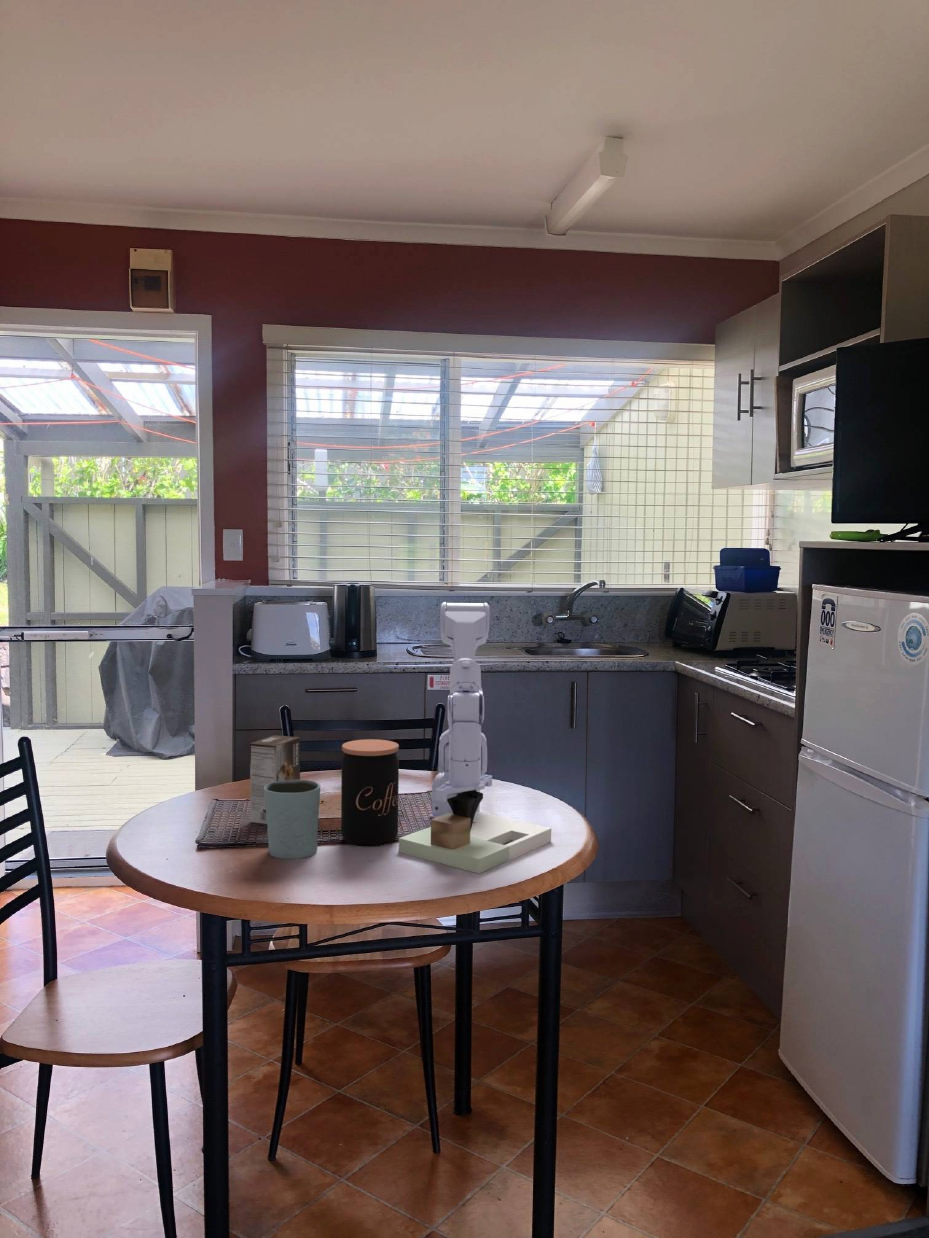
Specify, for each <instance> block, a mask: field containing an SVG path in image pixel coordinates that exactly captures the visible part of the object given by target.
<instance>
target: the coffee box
mask: <svg viewBox="0 0 929 1238" xmlns="http://www.w3.org/2000/svg"><path fill="white" fill-rule="evenodd" d="M300 741H301V737H300V736H288V735H287V736H286V735H276V734H275V735H271V736H268V737H265V738H264V737H263V739H259V740H257V741H253V742H251V743H249V758H250V759H249V770H250V772H249V773H250V774H249V776H250V777H249V780H250V781H249V782H250V783H249V787H250V789H249V790H250V793H249V794H250V805H249V806H250V822H251V823H256V824H263V825H267V819H266V805H265V798H264V786H265V785H267V784H269V783H273V782H277V781H283V780H301V742H300Z"/></svg>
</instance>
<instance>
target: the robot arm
mask: <svg viewBox="0 0 929 1238" xmlns="http://www.w3.org/2000/svg"><path fill="white" fill-rule="evenodd" d="M490 609H491V608H490V605H489V604H488V602H483V603H481V602H480V603H478V602H477V603H476V602H475V603H474V602H470V603H469V602H446V601H443V602H442V603H441V604H440V616H439V617H440V622H439V623H440V624H439V625H440V626H439V628H440V629H439V630H440V638H441V639H442V640H441V641H442V643H443V644H445V645H448V646H450V648H451V652H452V655H453V663H452V665H450V668H449V694H448V696H447V722H448V723H447V724H448V728H447V730H445V731H444V732H443V733H441V735H440V737H439V745H438V772H439V773H438V774H436V776H434V780H433V783H432V787H431V790H432V792H431V814H429V816H428V817H429V818H431V819H433V818H436V817H439V816H442V815H445V814H448V813H450V814H454V815H458V816H463V817H467V818H471V820H470V831H471V827H472V823H473V820H474V816H475V813H476V811H477V812H480V810H481V809H480V807H481V806H480V805H481V802H482V801H483V799H484V793H483V792H481V790H484V789H485V788H486V787H488V788H489V787H491V786H493V775H489V774H485V773H486V772H487V771H488V770H487V768H488V745H487V737H486V735H485V734H484V733H483V732H482V725H483V723H484V720H485V697H484V692H483V687H482V672H481V671H482V670H481V669H482V667H481V666H480V664H479V663H478V662H477V661H475V657H476V656H475V655H476V652H477V649H478V647H479V646H481V645H484V644H486V643H487V640H488V638H489V632H490V625H491V624H490V623H491V621H490V618H491V617H490V616H491V615H490V613H491V612H490ZM480 719H481V722H480V721H479V720H480Z"/></svg>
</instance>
